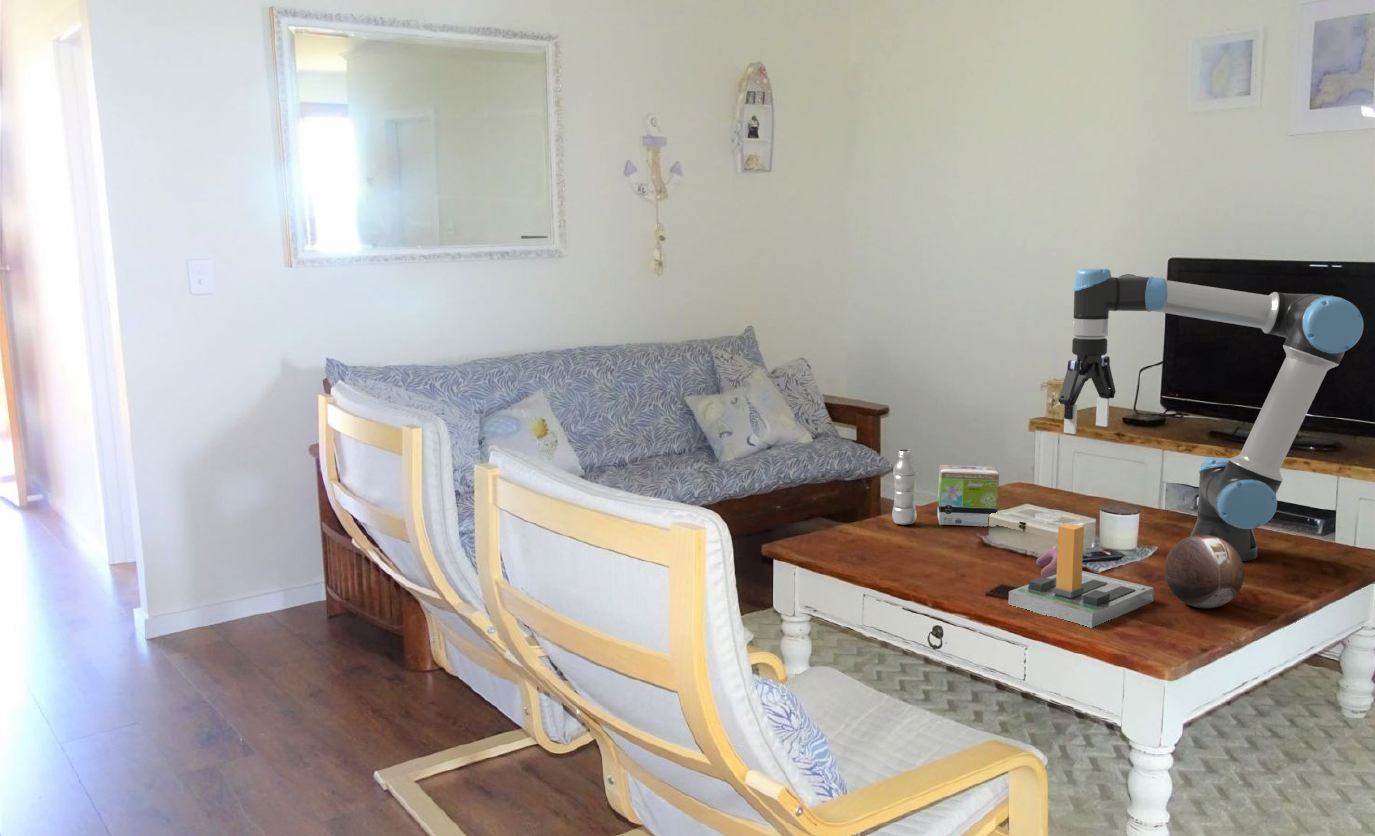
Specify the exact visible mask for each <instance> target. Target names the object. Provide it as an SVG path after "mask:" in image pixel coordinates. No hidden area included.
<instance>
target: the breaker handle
mask: <svg viewBox="0 0 1375 836" xmlns="http://www.w3.org/2000/svg"><path fill="white" fill-rule="evenodd" d="M1057 529H1058V531H1057V547H1058V551H1057V576H1056V587H1055V588H1054V590H1053V594H1057V595H1061V596H1065V597H1069V598H1072V597H1075V596H1077V595H1080V594H1082V593H1084V587H1081V585H1082V571H1083V559H1084V558H1083V557H1084V533H1085V526H1083V525H1080V524H1079V525H1078V524H1073V523H1069V522H1068V523H1065V524H1064V523H1063V524H1061V525H1058V528H1057Z"/></svg>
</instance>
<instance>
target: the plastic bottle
mask: <svg viewBox="0 0 1375 836" xmlns="http://www.w3.org/2000/svg"><path fill="white" fill-rule="evenodd" d="M897 457H898V460H897V462H895V464H894V466H893V468H892V474H893V480H894V499H893V500H894V501H893V507H892V513H891V517H892V521H893V522H894V523H895V524H897V525H902V526H906V525H913V524H914V523H915V522H916V520H917V516H918V515H917V508H916V507H917V506H916V497H915V496H916V495H915V494H916V482H917V476H918V467H917V465H916V463H915V462H914V461H913V460H912V458H913V457H914V455H913V450H912V449H908V448H907V449H906V448H904V449H902V448H901V449H898V455H897Z"/></svg>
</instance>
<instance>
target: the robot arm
mask: <svg viewBox="0 0 1375 836" xmlns="http://www.w3.org/2000/svg"><path fill="white" fill-rule="evenodd" d="M1111 274H1112V273H1111V270H1110V269H1109V268H1081V269H1080V268H1079V270H1078V271H1076V274H1075V280H1074V288H1073V290H1074V291H1073V292H1074V293H1073V295H1074V296H1073V322H1072V326H1073V328H1072V329H1073V331H1072V335H1073V336H1074V337H1073V339H1072V346H1071V348H1072V349H1071V352H1072V354H1073V355H1075V356H1076V360H1071V359H1069V360H1068V362H1067V368H1066V373H1065V375H1064V380H1063V382H1062V383H1063V384H1062V386H1061V391H1060V393H1059V397H1058V403H1059V404H1061V405H1064V413H1063V417H1064V418H1063V433H1064V434H1072V435H1077V426H1078V425H1077V422H1078V421H1077V420H1078V404H1076V402H1077V400H1078V399H1079V396H1080V395H1081V394H1080V393H1081V392H1082V389H1083V387H1084V386H1085V384H1086V382H1088V380H1089V379H1090V380H1091V381H1092V383H1093V385H1094V388H1095V389H1096V392H1097V394H1098V396H1099V397H1097V398H1096V412H1095V413H1096V414H1095V426H1098V427H1108V426H1109V416H1110V415H1109V414H1110V412H1109V411H1110V410H1109V409H1110V399H1114V398H1115V395H1116V387H1115V383H1114V379H1113V375H1112V370H1111V365H1110V364H1111V363H1110V362H1111V361H1110V356H1105V355H1106V354H1107V353H1108V341H1109V340H1108V339H1107V338H1106V337H1107V336H1109V313H1110V312H1116V311H1118V312H1148V313H1150V312H1156V313H1157V312H1158V313H1164V314H1171V315H1174V316H1175V315H1176V316H1181V317H1188V318H1194V319H1195V318H1196V319H1200V320H1206V321H1207V320H1208V321H1212V322H1214V321H1215V322H1221V323H1225V324H1227V323H1228V324H1232V325H1233V324H1234V325H1238V326H1245V327H1252V328H1257V329H1261V331H1262V332H1263V333H1264V334H1268V335H1274V336H1278V337H1283V338H1285V341H1284V343H1283V345H1282V347H1283V350H1284V352H1285V356H1286V357H1285V358H1284V360H1283V362H1282V365H1281V367H1280V369H1279V371H1278V373H1277V375H1276V378H1275V379H1274V382H1273V383H1272V385H1271V387H1270V390H1269V392H1268V394H1267V397H1266V398H1265V401H1264V403H1263V405H1262V407H1261V410H1260V411H1259V414H1258V415H1257V418H1256V420H1255V421H1254V424H1253V426H1252V428H1251V430H1250V433H1249V435H1248V437H1247V438H1246V440H1245V443H1244V445H1243V447H1242V449H1241V452H1240V453H1239V454H1238V455H1235V456H1233V457H1231V458H1228V457H1227V458H1225V457H1224V458H1222V457H1212V458H1211V457H1208V458H1204V459H1203V460H1201V462H1200V467H1199V468H1200V469H1198V470H1199V471H1198V473H1199V480H1198V481H1199V482H1198V483H1199V484H1198V501H1197V504H1198V505H1197V517H1196V518H1197V519H1196V521H1195V524H1194V527H1193V529H1192V530H1191V533H1190V535H1189V537H1190V536H1194V535H1211V536H1215V537H1218V538H1220V539H1222V540H1224V541H1226V542H1227V543H1229V544H1230V545H1231V546H1232V547H1233V548H1234V549H1235V550H1236V551H1237V553H1238V554H1239V556H1240V558H1241V560H1242V562H1245V561H1246V562H1247V561H1251V560H1255V559H1256V558H1257V557H1258V545H1257V541H1256V537H1255V533H1254V531H1253V529H1257V528H1259V527H1263V526H1264V525H1266V524H1267V523H1268V522H1269V521H1271V519H1272V518H1273V517H1274V515H1275V513H1276V512H1277V507H1278V500H1277V499H1278V498H1277V493H1278V492H1279V489H1280V487H1281V485H1282V483H1283V479H1284V478H1283V476H1282V474H1281V472H1280V470H1281V467H1282V465H1283V462H1284V460H1285V459H1286V456H1287V455H1288V453H1289V451H1290V449H1291V447H1292V444H1293V442H1294V441H1295V439H1296V436H1297V434H1298V432H1299V430H1300V428H1301V426H1302V424H1303V422H1304V420H1305V417H1306V415H1307V413H1308V411H1309V409H1310V407H1311V406H1312V403H1313V401H1314V400H1315V397H1316V394H1317V393H1318V390H1319V389H1320V387H1321V384H1322V382H1323V380H1324V379H1325V376H1326V375H1327V372H1328V371H1329V370H1331V369H1332V368H1333V369H1334V368H1335V367H1338V366H1339V365H1340V363H1341V361H1342V359H1343V357H1344V356H1345V355H1344V354H1345V352H1346V351H1349V350H1350V349H1351V348H1353V347H1354V346H1355V345H1357V343H1358V341H1360V339H1361V337H1362V335H1363V331H1364V319H1363V316H1362V314H1361V312H1360V310H1359V308H1357V306H1356V305H1354V304H1353V303H1352V302H1350V301H1348V300H1346V299H1344V298H1342V297H1339V296H1334V295H1325V294H1322V293H1321V294H1320V293H1285V292H1284V293H1283V292H1278V291H1273V292H1271V293H1270V294H1269V295H1267V294H1261V293H1254V292H1247V291H1240V290H1234V289H1228V288H1222V287H1221V288H1219V287H1213V286H1207V285H1200V284H1199V285H1198V284H1193V283H1188V282H1187V283H1186V282H1180V281H1174V280H1168V279H1165V278H1163V277H1158V276H1157V277H1155V276H1140V275H1135V274H1130V273H1126V274H1121V275H1119V276H1117V277H1114V276H1112V275H1111Z"/></svg>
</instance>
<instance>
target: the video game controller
mask: <svg viewBox="0 0 1375 836" xmlns="http://www.w3.org/2000/svg"><path fill="white" fill-rule="evenodd" d="M1057 551H1058V546H1056V545H1054V546H1053V547H1050V549H1048V550H1047V551H1046V552H1045V553H1043V554H1042V555H1040V556H1039V557H1038V558H1037V559H1036V562H1035V564H1036V566H1037V567H1039V566H1040V567H1041V568H1043V569H1041V570H1040V576H1041V577H1045V578H1047V577H1050V576H1052V575H1055V574H1057Z"/></svg>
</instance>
